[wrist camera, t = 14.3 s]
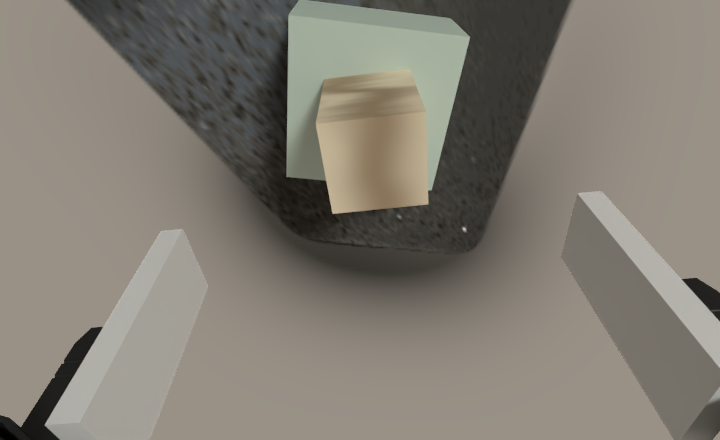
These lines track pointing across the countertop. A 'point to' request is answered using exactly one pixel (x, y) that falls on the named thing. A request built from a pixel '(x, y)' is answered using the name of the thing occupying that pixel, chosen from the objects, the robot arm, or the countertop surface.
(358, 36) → the sage block
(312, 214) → the countertop surface
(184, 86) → the countertop surface
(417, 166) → the maple block
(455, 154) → the countertop surface
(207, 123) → the countertop surface
